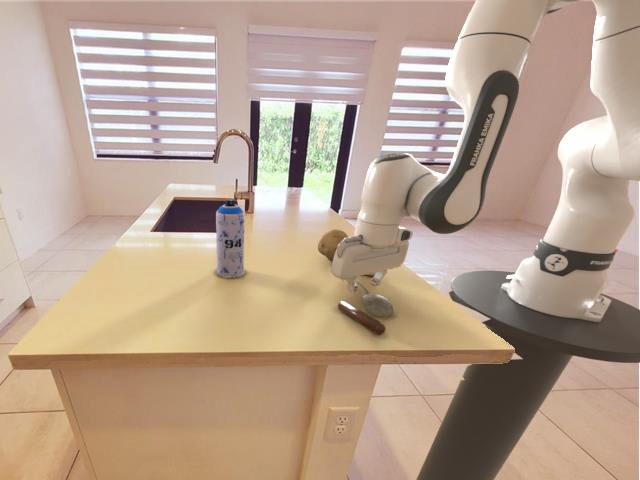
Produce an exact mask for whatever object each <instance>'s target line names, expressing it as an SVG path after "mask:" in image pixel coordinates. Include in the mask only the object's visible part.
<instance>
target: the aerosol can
mask: <svg viewBox="0 0 640 480" xmlns="http://www.w3.org/2000/svg"><path fill="white" fill-rule="evenodd" d="M245 214H246V213H245V211H244V210H243V209H242V207H241V206H239V205H238V204H236V201H235V199H225V204H223V205H221V206H220V207H219V208H218V209H217V210H216V212H215V230H216V231H215V235H216V274H217V276H219V277H222V278H225V279H235V278H240V277H242V276H243V275H245V228H246V227H245V225H246V223H245V222H246V220H245V219H246V215H245Z"/></svg>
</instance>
